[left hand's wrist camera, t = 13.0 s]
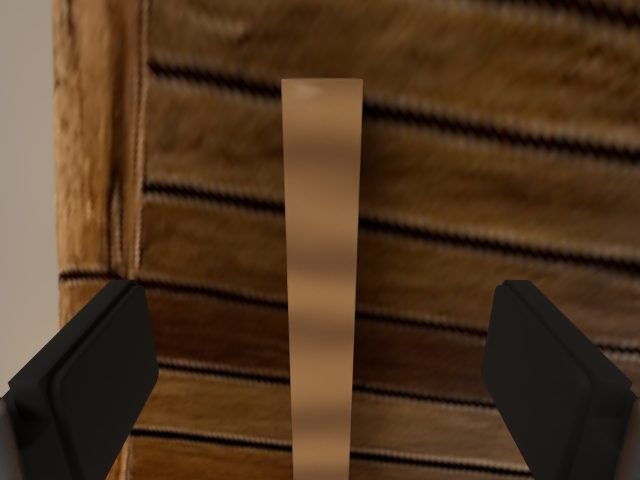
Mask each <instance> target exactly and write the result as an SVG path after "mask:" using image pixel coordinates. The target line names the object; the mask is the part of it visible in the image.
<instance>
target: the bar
mask: <svg viewBox="0 0 640 480" xmlns="http://www.w3.org/2000/svg"><path fill="white" fill-rule="evenodd" d="M281 86H282V119H283V152H284V184H285V217H286V249H287V282H288V315H289V347H290V380H291V412H292V445H293V477H294V480H349V459H350V432H351V405H352V377H353V350H354V322H355V295H356V268H357V240H358V213H359V185H360V158H361V131H362V103H363V79H358V78H285V79H282V80H281Z"/></svg>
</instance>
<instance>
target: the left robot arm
mask: <svg viewBox="0 0 640 480" xmlns="http://www.w3.org/2000/svg"><path fill="white" fill-rule="evenodd" d="M158 371H159V370H158V363H157V357H156V351H155V346H154V340H153V334H152V328H151V323H150V317H149V311H148V305H147V300H146V294H145V289H144V287H143V286H142V285H138V284H137V282H136V281H135V280H111V281H110V282H109V283H108V284H107V285H106V286H105V287H104V288H103V289H102V290H101V291H99V292H98V293H97V294H96V295H95V296H94V297H93V298H92V299H91V300H90V301H89V302H88V303H87V304H86V305H85V306H84V307H83V308H82V309H81V310H80V311H79V312H78V313H77V314H76V315H75V316H74V317H73V318H72V319H71V320H70V321H69V322H68V323H67V324H66V325H65V326H64V327H63V328H62V329H61V330H60V331H59V332H58V333H57V334H56V335H55V336H54V337H53V338H52V339H51V340H50V341H49V342H48V343H47V344H46V345H45V346H44V347H43V348H42V349H41V350H40V351H39V352H38V353H37V354H36V355H35V356H34V357H33V358H32V359H31V360H30V361H29V362H28V363H27V364H26V365H25V366H24V367H23V368H22V369H21V370H20V371H19V372H18V373H17V374H16V375H15V376H14V377H13V378H12V379H11V380H10V381H9V382H8V384H9V387H10V390H9V391H8V392H7V393H6V394H5V395H4V396H3V397H2V398H1V397H0V480H105V479H106V477H107V475H108V473H109V471H110V469H111V467H112V466H113V464H114V462H115V460H116V458H117V456H118V454H119V452H120V450H121V448H122V447H123V445H124V443H125V441H126V439H127V437H128V435H129V433H130V431H131V430H132V428H133V426H134V424H135V422H136V420H137V418H138V416H139V414H140V412H141V411H142V409H143V407H144V405H145V403H146V401H147V399H148V397H149V395H150V394H151V392H152V390H153V388H154V386H155V384H156V382H157V379H158ZM481 371H482V379H483V382H484V384H485V386H486V388H487V390H488V392H489V394H490V395H491V397H492V399H493V401H494V403H495V405H496V407H497V409H498V411H499V412H500V414H501V416H502V418H503V420H504V422H505V424H506V426H507V428H508V430H509V431H510V433H511V435H512V437H513V439H514V441H515V443H516V445H517V447H518V448H519V450H520V452H521V454H522V456H523V458H524V460H525V462H526V464H527V466H528V467H529V469H530V471H531V473H532V475H533V477H534V479H535V480H640V397H639V398H638V397H637V396H636V395H635V394H634V393H633V392H632V391H631V390H630V387H631V384H632V382H631V381H630V380H629V379H628V378H627V377H626V376H625V375H624V374H623V373H622V372H621V371H620V370H619V369H618V368H617V367H616V366H615V365H614V364H613V363H612V362H611V361H610V360H609V359H608V358H607V357H606V356H605V355H604V354H603V353H602V352H601V351H600V350H599V349H598V348H597V347H596V346H595V345H594V344H593V343H592V342H591V341H590V340H589V339H588V338H587V337H586V336H585V335H584V334H583V333H582V332H581V331H580V330H579V329H578V328H577V327H576V326H575V325H574V324H573V323H572V322H571V321H570V320H569V319H568V318H567V317H566V316H565V315H564V314H563V313H562V312H561V311H560V310H559V309H558V308H557V307H556V306H555V305H554V304H553V303H552V302H551V301H550V300H549V299H548V298H547V297H546V296H545V295H544V294H543V293H542V292H541V291H539V290H538V289H537V288H536V287H535V286H534V285H533V284H532V283H531V282H530V281H529V280H505V281H504V282H503V284H502V285H498V286H497V287H496V289H495V294H494V300H493V305H492V311H491V317H490V323H489V328H488V334H487V340H486V346H485V351H484V357H483V363H482V370H481Z"/></svg>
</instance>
